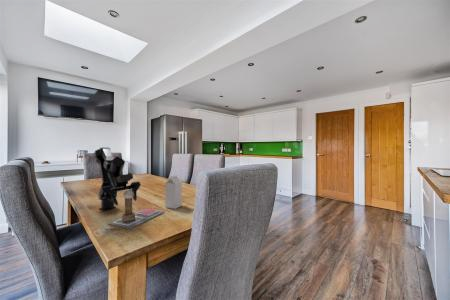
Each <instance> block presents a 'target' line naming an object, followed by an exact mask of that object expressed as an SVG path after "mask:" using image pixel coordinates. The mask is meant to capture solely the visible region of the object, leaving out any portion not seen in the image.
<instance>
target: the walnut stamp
mask: <svg viewBox="0 0 450 300" xmlns="http://www.w3.org/2000/svg"><path fill="white" fill-rule="evenodd" d="M133 195H134V193H133V191H131V190H129V189H128V190H124V193H123V197H124V212H123V213H122V214H121V216H122V217H121V218H122V220H123V223H126V222H131V221H135V212H134V211H133Z"/></svg>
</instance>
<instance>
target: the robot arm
mask: <svg viewBox="0 0 450 300" xmlns="http://www.w3.org/2000/svg"><path fill="white" fill-rule="evenodd" d="M93 158H94V159H95V162H96V163H97V164H98V165H99V170H100V176H101V182H102V184H101V185H100V188H99V191H98V197H97V198H98V200H99V201H100V203H101V204H100V205H101V207H98V210H103V211H109V210H111V209H115V208H117V206H118V205H119V202H118V199H117V195H118V194H117V193H118V192H121V191H123V192H124V191H127V190H131V191H133V193H134V195H133V197H132V200H133V201H135V202H137V191H138V190H139V189H140V188H141V185H142V184H141V182H140V181H133V182H132V181H131V180H132V179H133V178H134V175H133V173H132V172H128V173H126V174H122V173H121V172H122V171H123V170H124V166H125V163H126V161H125V160H124V159H123V158H120V156H114V155H113V153H112V151H111V148H110V147H99V148H98V149H96V150H95V151H94V153H93ZM129 181H131V183H130V184H129Z"/></svg>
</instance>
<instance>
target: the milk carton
mask: <svg viewBox="0 0 450 300" xmlns="http://www.w3.org/2000/svg"><path fill="white" fill-rule="evenodd" d="M182 187H183V182H182V181H181V179H180V178H179V177H178V175H173V176H170V177H169V179H168V180H166V182H165V189H164V190H165V191H164V192H165V196H164V197H165V202H164V204H165V208H166V209H174V210H176V209H178V208H181V207H182V205H183V204H182V203H183V200H182V199H183V198H182V197H183V195H182V193H183V192H182V190H183V188H182Z"/></svg>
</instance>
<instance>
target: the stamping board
mask: <svg viewBox="0 0 450 300" xmlns="http://www.w3.org/2000/svg"><path fill="white" fill-rule="evenodd" d="M134 213H135V221H131V222H126V223H123V220H122V217H121V218H118V219H115V220H113V221H111V222H107V225H108V226H112V227H118V228H122V229H127V230H132V229H134V228H137V226H141V225H142V224H144V223H146V222H148V221H151V220H152V219H155V218H156V217H158V216H161V215H163V214H165V211H163V210H159V209H152V208H143V209H140V210H138V211H136V212H134Z"/></svg>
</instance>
